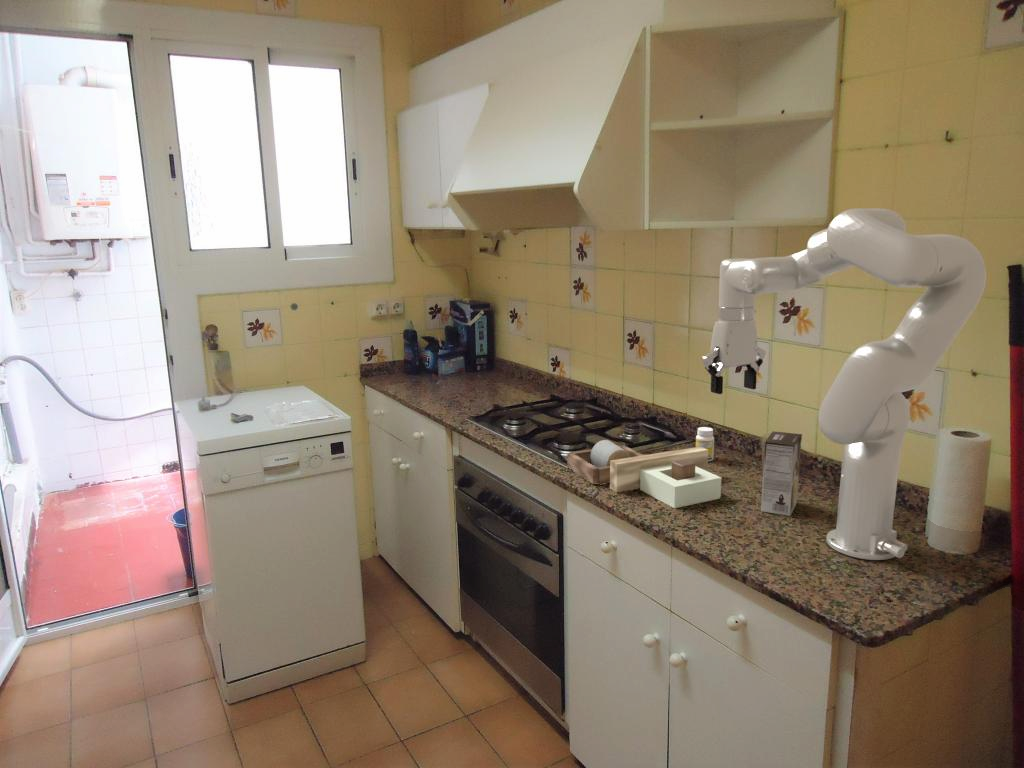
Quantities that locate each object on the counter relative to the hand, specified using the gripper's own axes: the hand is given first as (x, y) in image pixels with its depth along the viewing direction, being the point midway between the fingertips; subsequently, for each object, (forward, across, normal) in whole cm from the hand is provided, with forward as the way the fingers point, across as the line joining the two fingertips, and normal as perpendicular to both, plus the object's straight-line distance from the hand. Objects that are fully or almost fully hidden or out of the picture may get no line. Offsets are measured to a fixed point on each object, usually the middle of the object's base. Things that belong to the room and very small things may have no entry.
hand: (733, 390), depth 161 cm
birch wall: (+24, +10, -13) cm, 29 cm away
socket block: (+24, +10, -5) cm, 27 cm away
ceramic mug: (+24, +15, -25) cm, 38 cm away
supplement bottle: (+24, -11, -22) cm, 35 cm away
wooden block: (+24, +10, -4) cm, 27 cm away
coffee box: (+25, -4, +11) cm, 28 cm away
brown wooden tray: (+24, +17, -26) cm, 39 cm away
